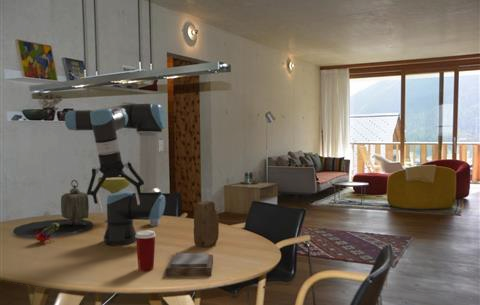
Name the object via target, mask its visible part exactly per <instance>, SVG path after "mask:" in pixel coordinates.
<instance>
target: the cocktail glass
mask: <svg viewBox="0 0 480 305" xmlns="http://www.w3.org/2000/svg"><path fill="white" fill-rule="evenodd" d="M101 178H102V176H101V177H98V179H97V184H98V183H99V181H100V179H101ZM130 185H131V183H130V182H129V181H128V180H126V179H125V178H124V177H122V176H121V175H119V176H118V177H112V178H108V177H106V179H105V181H104V182H103V184H102V185H101V187H100V188H101V189H104V190H105V191H108V192H110V194H113V193H118V192H121V191H122V190H124V189H125V188H127V187H129V186H130ZM104 222H105V223H107V219H105V221H104Z"/></svg>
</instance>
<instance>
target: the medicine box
mask: <svg viewBox="0 0 480 305" xmlns="http://www.w3.org/2000/svg"><path fill="white" fill-rule="evenodd" d="M149 221H150V222H149V223H150V225H149V226H150V227H158V226H160V222H161V218H160V219H158V220H149Z"/></svg>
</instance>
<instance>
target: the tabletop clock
mask: <svg viewBox="0 0 480 305" xmlns="http://www.w3.org/2000/svg"><path fill="white" fill-rule="evenodd" d="M73 182H75V183H76V184H73ZM70 184H71V186H72V188H71V189H70V190H69V192H67V193H64V194H62V195H61V198H60V208H61V209H60V210H61V217H62V218H65V219H66V220H70V223H74V222H73V221H76V222H77V220H78V221H81V223H82V224H83V223H85V222H84V221H83V220H84V219H88V218H89V212H90V211H89V210H90V209H89V207H90V206H89V204H90V202H89V195H87V192H86V193H85V192H82V191H80V189H79V188H78V186H79V183H78V181H77V180H76V179H73V180H71V183H70Z"/></svg>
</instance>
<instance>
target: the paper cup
mask: <svg viewBox="0 0 480 305" xmlns="http://www.w3.org/2000/svg"><path fill="white" fill-rule="evenodd" d="M156 236H157V234H156V233H155V231H154V230H139V231H136V235H135V237H136V242H135V243H136V256H137V257H136V258H137V259H136V260H137V268H138V271H140V272H144V273H145V272H151V271H153V270H154V266H155V248H156V245H155V244H156Z"/></svg>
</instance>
